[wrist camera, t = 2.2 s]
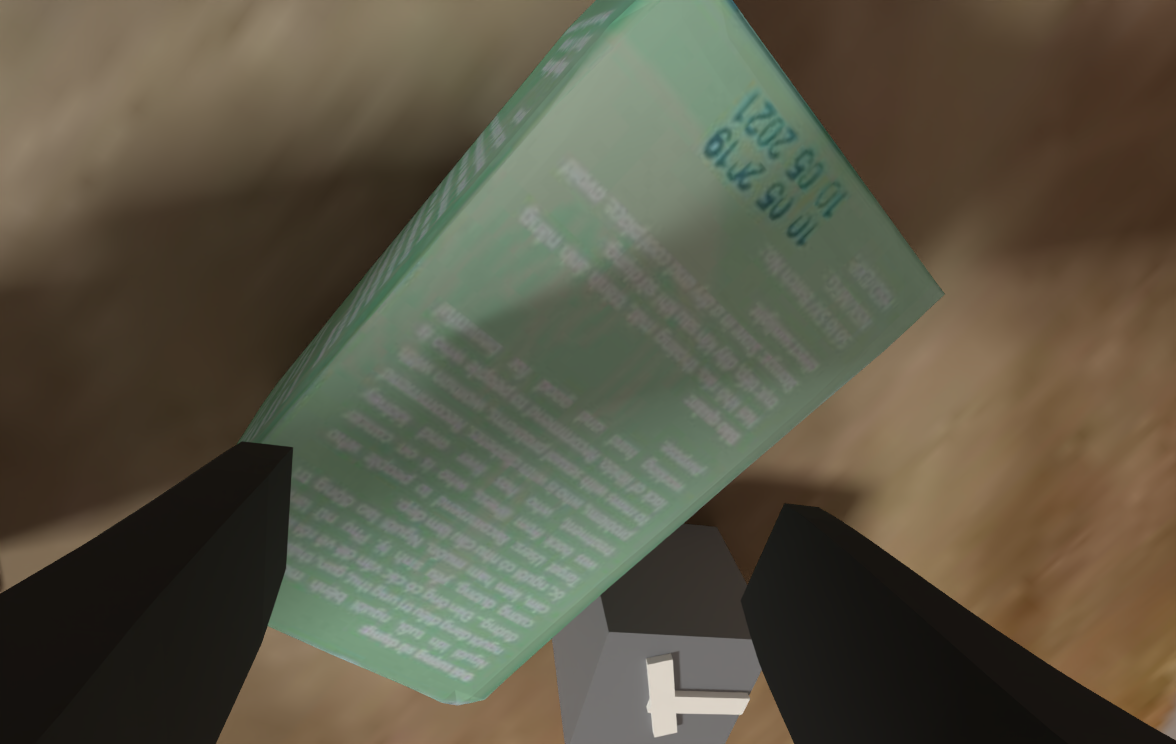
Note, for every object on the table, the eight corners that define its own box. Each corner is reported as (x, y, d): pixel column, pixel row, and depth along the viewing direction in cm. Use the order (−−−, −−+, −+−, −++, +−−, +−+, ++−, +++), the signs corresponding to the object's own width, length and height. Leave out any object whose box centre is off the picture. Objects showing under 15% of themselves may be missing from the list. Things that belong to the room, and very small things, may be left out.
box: (262, 395, 17) (124, 600, 10) (591, -8, 14) (694, -86, 7) (470, 519, 20) (467, 739, 13) (777, 207, 17) (970, 289, 10)
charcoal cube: (549, 620, 22) (567, 760, 18) (581, 511, 20) (610, 638, 16) (675, 627, 24) (721, 761, 19) (716, 525, 22) (779, 646, 17)
